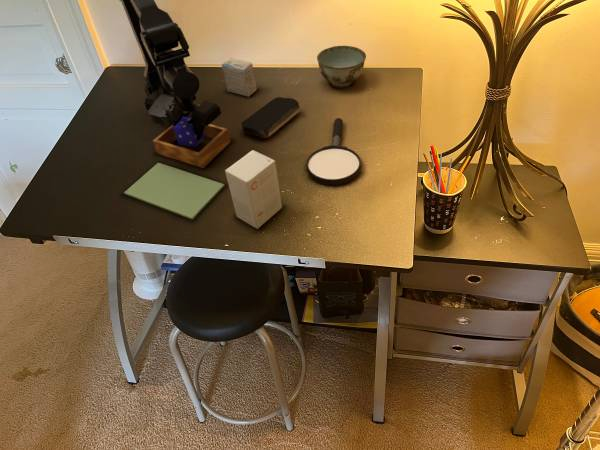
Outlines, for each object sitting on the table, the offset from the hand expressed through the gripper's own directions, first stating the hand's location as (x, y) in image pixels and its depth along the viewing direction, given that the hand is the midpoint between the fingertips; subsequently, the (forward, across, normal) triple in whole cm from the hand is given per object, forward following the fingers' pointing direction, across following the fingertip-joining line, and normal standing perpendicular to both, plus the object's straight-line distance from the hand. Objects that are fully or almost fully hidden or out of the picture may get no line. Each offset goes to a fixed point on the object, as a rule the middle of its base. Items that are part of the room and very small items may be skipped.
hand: (190, 136), depth 114 cm
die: (+1, 0, 0) cm, 1 cm away
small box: (+4, +28, -13) cm, 31 cm away
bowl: (+4, +21, +43) cm, 48 cm away
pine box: (+4, 0, 0) cm, 4 cm away
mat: (+3, +6, -15) cm, 17 cm away
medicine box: (+4, -4, +28) cm, 29 cm away
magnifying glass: (+4, +34, +12) cm, 36 cm away
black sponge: (+4, +13, +17) cm, 22 cm away
